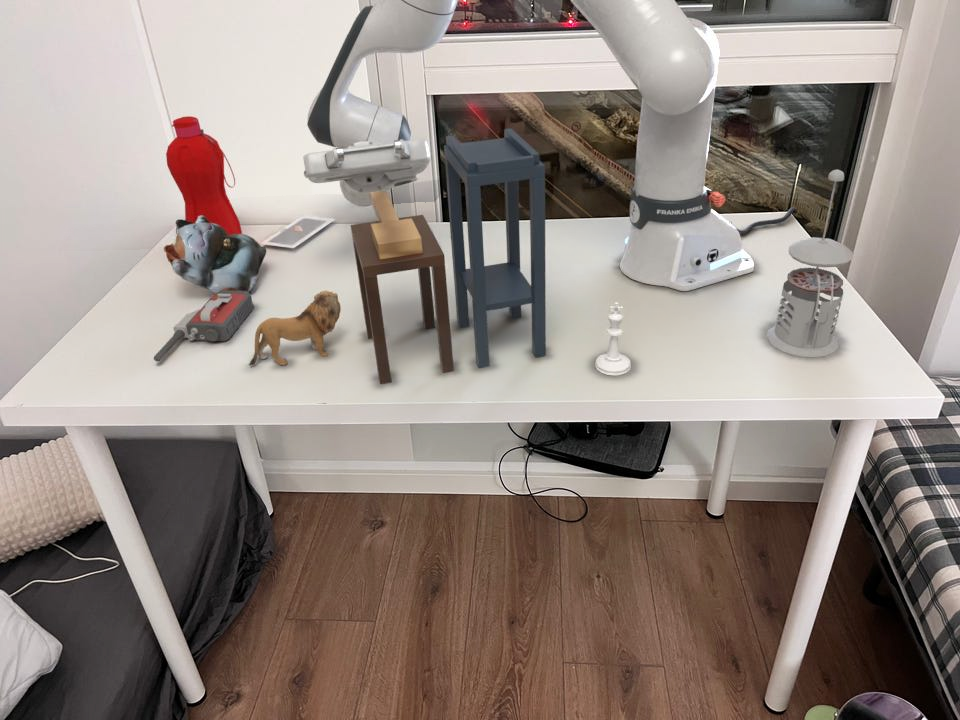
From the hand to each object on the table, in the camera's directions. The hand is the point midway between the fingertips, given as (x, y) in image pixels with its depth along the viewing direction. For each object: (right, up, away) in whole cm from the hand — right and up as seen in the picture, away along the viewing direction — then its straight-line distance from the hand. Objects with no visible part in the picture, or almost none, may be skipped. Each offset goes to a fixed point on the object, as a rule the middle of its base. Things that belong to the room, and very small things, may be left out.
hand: (369, 148), depth 116 cm
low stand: (+6, -31, -4) cm, 32 cm away
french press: (+63, -30, -7) cm, 71 cm away
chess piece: (+36, -33, -10) cm, 50 cm away
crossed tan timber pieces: (+4, -14, -11) cm, 18 cm away
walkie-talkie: (-26, -28, +3) cm, 39 cm away
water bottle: (-34, -10, +32) cm, 48 cm away
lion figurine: (-10, -32, -3) cm, 33 cm away
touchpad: (-19, -8, +35) cm, 41 cm away
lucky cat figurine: (-28, -19, +18) cm, 39 cm away
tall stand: (+20, -29, -3) cm, 36 cm away
